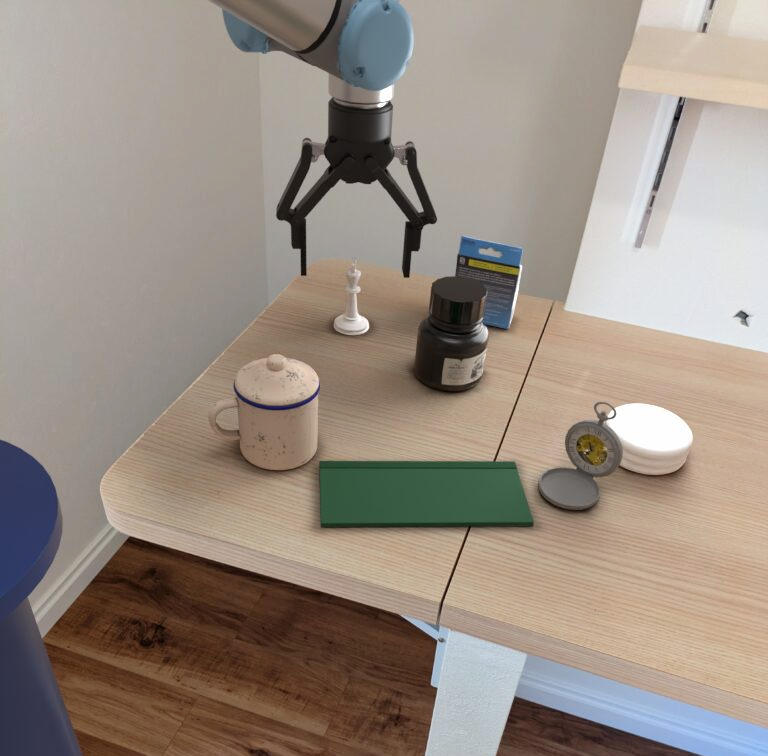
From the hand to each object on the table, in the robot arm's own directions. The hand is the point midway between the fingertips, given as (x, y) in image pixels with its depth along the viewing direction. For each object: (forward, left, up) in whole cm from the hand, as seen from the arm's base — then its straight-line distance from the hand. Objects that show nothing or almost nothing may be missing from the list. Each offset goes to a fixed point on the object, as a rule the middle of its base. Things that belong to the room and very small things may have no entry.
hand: (354, 272), depth 106 cm
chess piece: (0, 0, -8) cm, 8 cm away
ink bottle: (+12, -12, -8) cm, 19 cm away
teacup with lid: (-11, -28, -8) cm, 31 cm away
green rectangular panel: (+6, -36, -8) cm, 37 cm away
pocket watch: (+23, -35, -8) cm, 43 cm away
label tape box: (+19, +3, -8) cm, 21 cm away
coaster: (+33, -28, -8) cm, 44 cm away
